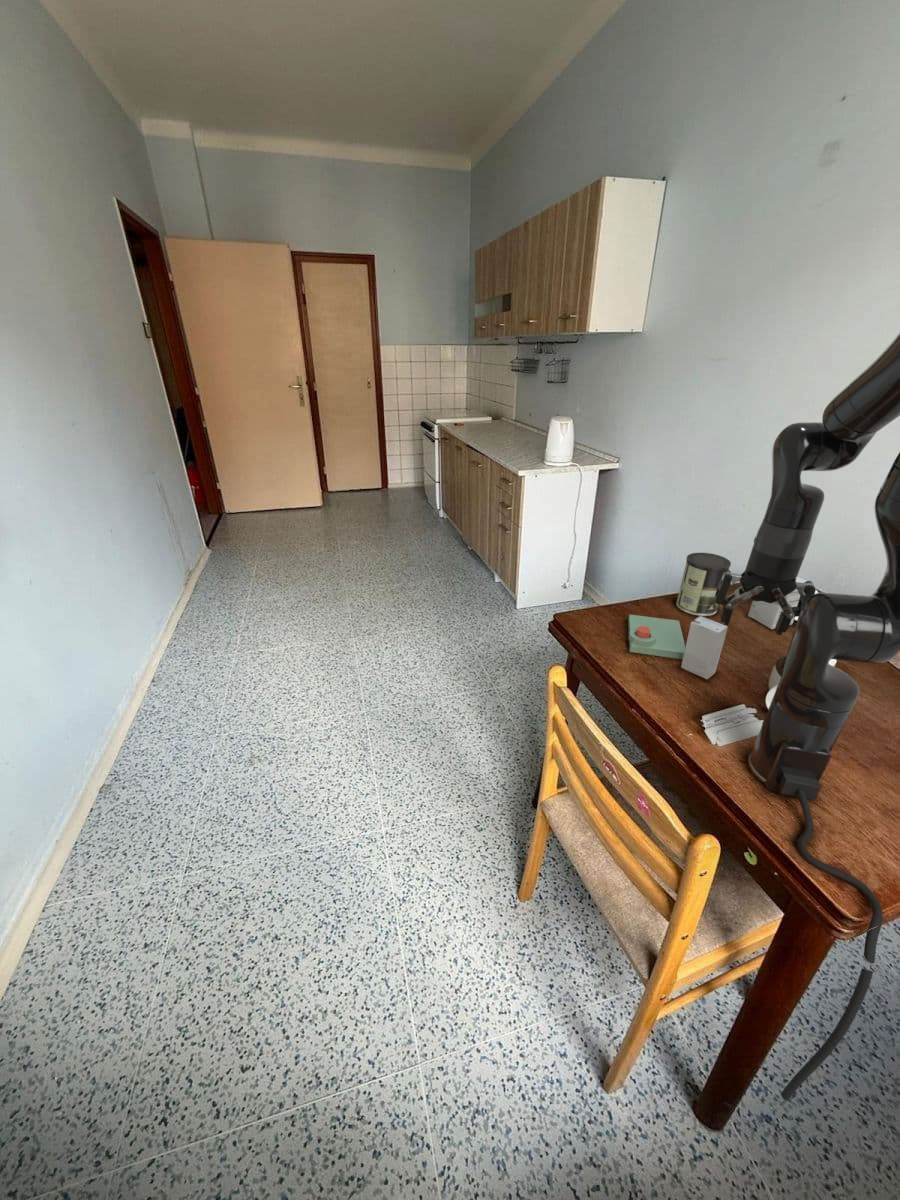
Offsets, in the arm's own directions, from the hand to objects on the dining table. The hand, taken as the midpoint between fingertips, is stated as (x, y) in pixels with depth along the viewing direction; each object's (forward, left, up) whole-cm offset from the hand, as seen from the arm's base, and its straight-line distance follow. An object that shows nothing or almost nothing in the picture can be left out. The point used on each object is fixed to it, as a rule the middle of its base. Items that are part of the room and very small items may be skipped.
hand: (751, 627), depth 87 cm
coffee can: (+40, 0, -17) cm, 43 cm away
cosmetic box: (+9, +4, -17) cm, 20 cm away
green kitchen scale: (+20, +12, -17) cm, 29 cm away
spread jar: (+1, -12, -17) cm, 21 cm away
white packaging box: (+37, -17, -17) cm, 44 cm away
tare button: (+15, +16, -14) cm, 26 cm away
